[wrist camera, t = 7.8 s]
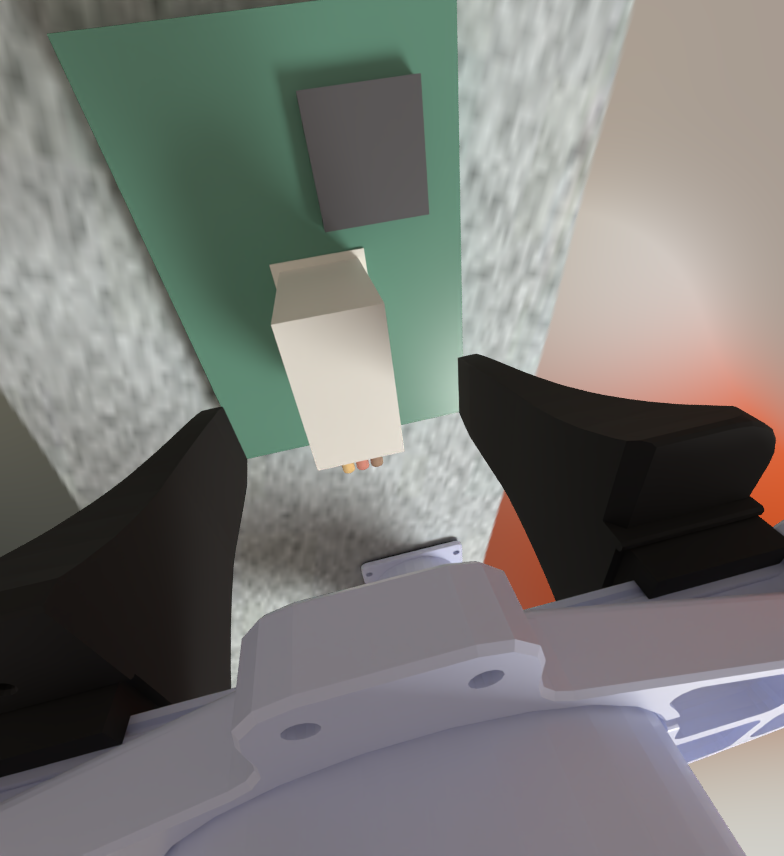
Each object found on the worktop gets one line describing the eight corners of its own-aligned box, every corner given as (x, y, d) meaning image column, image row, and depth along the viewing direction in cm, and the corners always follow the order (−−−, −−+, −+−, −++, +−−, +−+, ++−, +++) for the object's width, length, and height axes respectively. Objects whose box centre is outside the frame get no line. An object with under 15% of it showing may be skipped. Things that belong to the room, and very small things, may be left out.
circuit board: (454, 397, 23) (471, 423, 20) (248, 442, 22) (242, 474, 19) (441, -2, 13) (469, -32, 11) (72, 45, 12) (22, 22, 10)
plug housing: (381, 402, 20) (408, 481, 15) (320, 415, 20) (327, 500, 15) (358, 257, 16) (384, 303, 11) (279, 271, 15) (270, 325, 11)
